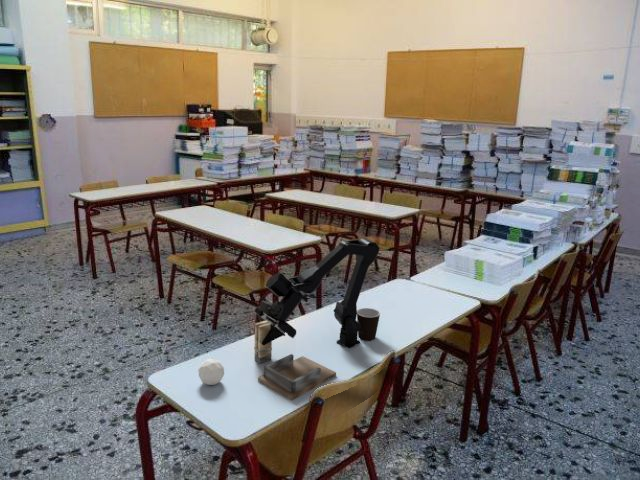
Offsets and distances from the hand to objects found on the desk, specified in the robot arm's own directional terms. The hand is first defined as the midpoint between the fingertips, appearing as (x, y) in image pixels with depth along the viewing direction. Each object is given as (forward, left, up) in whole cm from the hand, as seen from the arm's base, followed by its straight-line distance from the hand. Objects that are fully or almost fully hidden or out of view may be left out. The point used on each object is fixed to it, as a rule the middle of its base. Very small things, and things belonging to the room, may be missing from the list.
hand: (259, 342), depth 170 cm
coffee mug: (-42, +13, -7) cm, 45 cm away
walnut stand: (-1, +17, -7) cm, 18 cm away
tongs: (-1, 0, -7) cm, 7 cm away
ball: (+20, 0, -7) cm, 21 cm away
